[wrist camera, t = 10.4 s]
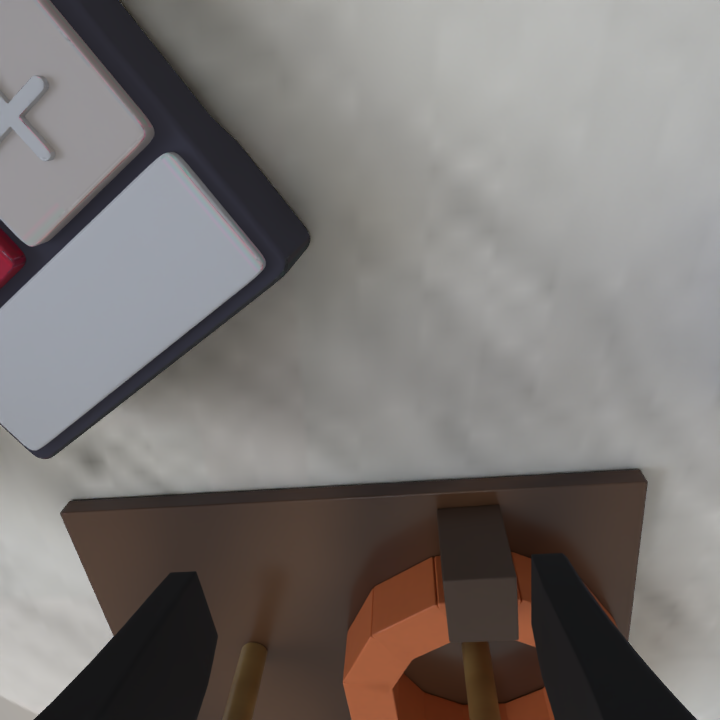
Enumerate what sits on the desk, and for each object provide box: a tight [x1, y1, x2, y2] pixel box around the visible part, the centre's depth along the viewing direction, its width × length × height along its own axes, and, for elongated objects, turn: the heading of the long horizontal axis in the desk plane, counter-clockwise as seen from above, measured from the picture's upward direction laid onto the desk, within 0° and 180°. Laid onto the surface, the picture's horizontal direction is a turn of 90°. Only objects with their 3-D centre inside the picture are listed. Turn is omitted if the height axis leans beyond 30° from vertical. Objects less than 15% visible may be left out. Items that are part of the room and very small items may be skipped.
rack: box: [60, 469, 647, 720], centre depth 24 cm, size 23×15×5 cm, turn 97°
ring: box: [343, 505, 618, 720], centre depth 23 cm, size 11×14×4 cm
